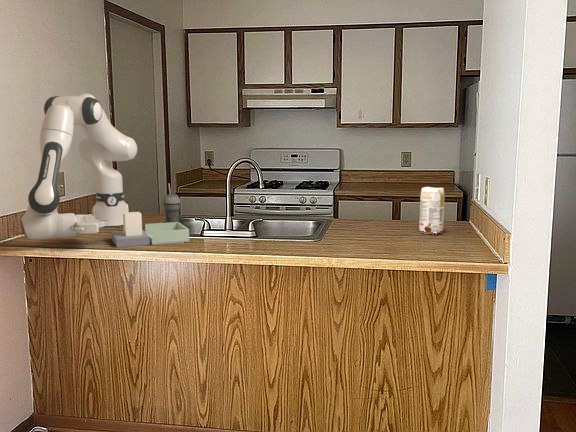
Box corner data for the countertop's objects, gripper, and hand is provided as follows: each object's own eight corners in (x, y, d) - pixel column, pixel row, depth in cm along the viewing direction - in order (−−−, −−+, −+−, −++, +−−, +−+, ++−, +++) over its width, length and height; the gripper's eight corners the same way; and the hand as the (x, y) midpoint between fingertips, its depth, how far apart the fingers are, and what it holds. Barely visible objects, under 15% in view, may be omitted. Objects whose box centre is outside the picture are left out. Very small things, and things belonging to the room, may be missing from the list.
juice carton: (437, 236, 236) (439, 189, 233) (417, 233, 241) (418, 187, 238) (444, 233, 242) (446, 187, 239) (424, 231, 247) (426, 186, 244)
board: (111, 239, 229) (111, 231, 229) (143, 237, 234) (142, 229, 233) (117, 247, 215) (116, 239, 214) (150, 244, 219) (149, 236, 219)
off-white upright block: (123, 233, 226) (122, 212, 225) (139, 232, 228) (138, 211, 227) (125, 236, 220) (125, 214, 219) (142, 234, 223) (141, 214, 221)
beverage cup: (177, 232, 244) (176, 184, 241) (161, 231, 246) (159, 183, 242) (184, 229, 251) (182, 182, 248) (168, 228, 253) (166, 182, 249)
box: (143, 236, 235) (143, 224, 234) (178, 234, 240) (178, 221, 240) (152, 245, 219) (151, 231, 218) (189, 242, 224) (188, 229, 223)
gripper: (71, 221, 205) (112, 218, 210) (68, 212, 224) (106, 210, 229) (72, 239, 206) (113, 236, 211) (69, 229, 225) (106, 226, 230)
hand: (109, 222), depth 220 cm, fingers closed
